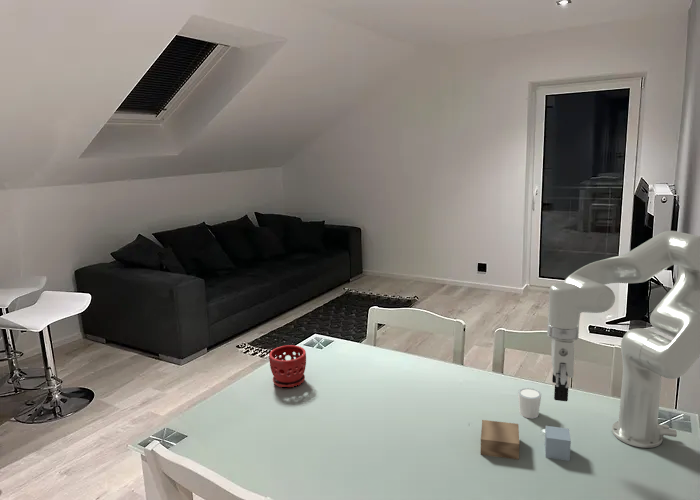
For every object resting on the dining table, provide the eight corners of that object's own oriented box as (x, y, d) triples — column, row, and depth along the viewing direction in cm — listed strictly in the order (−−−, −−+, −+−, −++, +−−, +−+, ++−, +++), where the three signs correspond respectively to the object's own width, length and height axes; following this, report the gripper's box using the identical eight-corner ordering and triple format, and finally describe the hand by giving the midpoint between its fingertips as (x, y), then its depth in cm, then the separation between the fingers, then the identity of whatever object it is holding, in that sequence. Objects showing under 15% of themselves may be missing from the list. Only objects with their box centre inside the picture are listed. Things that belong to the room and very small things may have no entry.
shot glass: (542, 420, 157) (543, 399, 156) (518, 418, 159) (519, 397, 157) (538, 408, 164) (539, 388, 162) (516, 407, 165) (516, 387, 164)
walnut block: (517, 439, 149) (518, 423, 148) (518, 460, 139) (519, 443, 138) (481, 435, 151) (482, 419, 150) (480, 455, 142) (480, 439, 141)
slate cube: (567, 448, 143) (568, 428, 142) (569, 461, 138) (570, 440, 137) (544, 444, 145) (545, 425, 144) (545, 457, 140) (546, 437, 138)
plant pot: (263, 385, 186) (261, 354, 183) (288, 371, 196) (285, 342, 194) (291, 395, 179) (289, 362, 176) (314, 379, 189) (313, 349, 186)
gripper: (582, 345, 125) (578, 409, 129) (575, 320, 141) (572, 378, 145) (548, 342, 127) (545, 405, 131) (546, 318, 143) (543, 375, 147)
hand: (559, 391), depth 138 cm, fingers open, 9 cm apart
